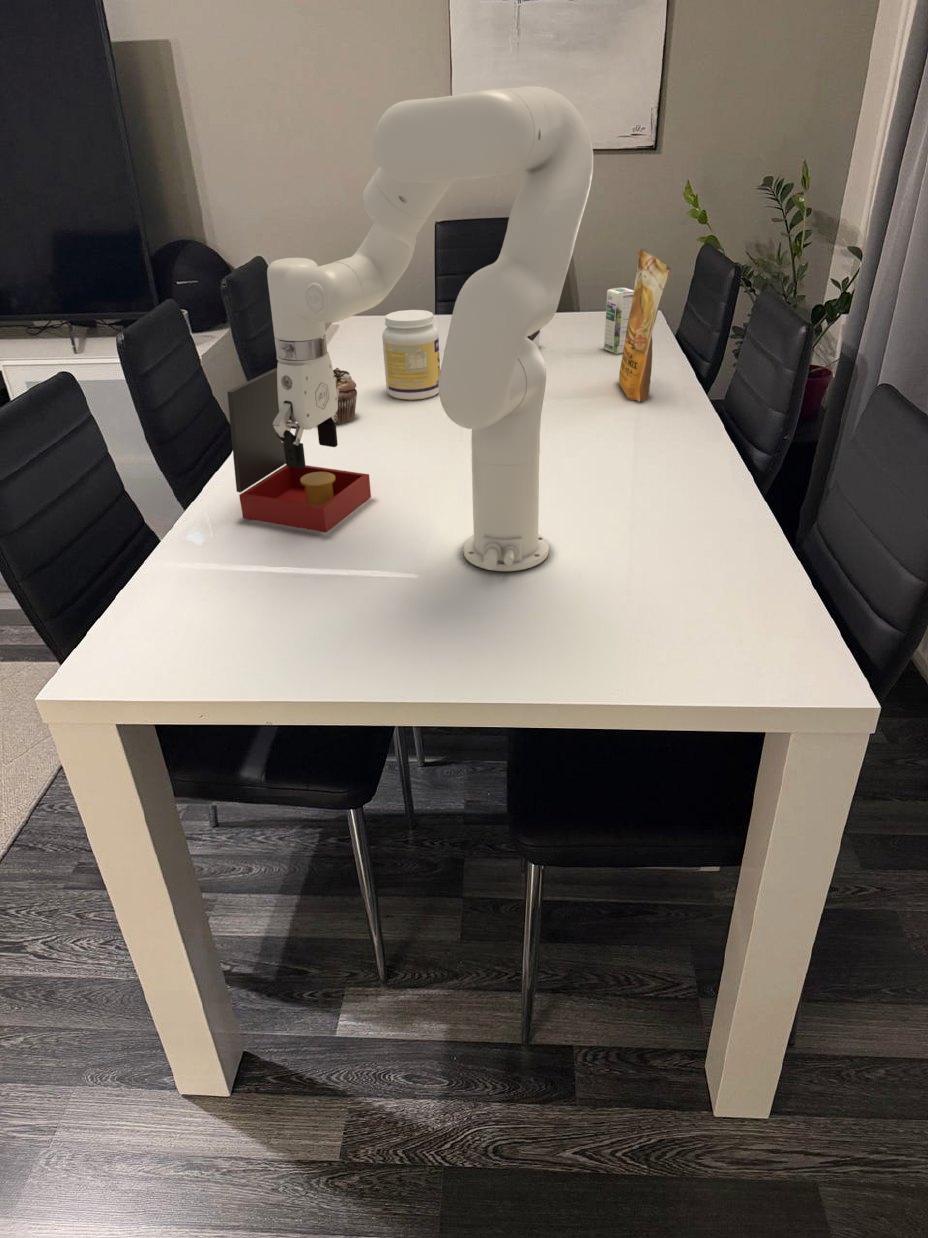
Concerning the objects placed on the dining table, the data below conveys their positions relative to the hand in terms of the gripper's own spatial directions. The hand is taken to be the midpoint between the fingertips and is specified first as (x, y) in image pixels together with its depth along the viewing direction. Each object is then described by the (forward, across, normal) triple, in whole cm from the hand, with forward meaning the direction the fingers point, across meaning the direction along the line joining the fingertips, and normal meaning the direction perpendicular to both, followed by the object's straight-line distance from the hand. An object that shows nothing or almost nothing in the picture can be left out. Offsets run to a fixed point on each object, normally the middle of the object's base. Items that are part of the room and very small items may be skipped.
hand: (312, 456), depth 146 cm
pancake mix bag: (+10, +80, -33) cm, 87 cm away
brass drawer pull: (+9, 0, -1) cm, 9 cm away
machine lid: (-3, 0, +9) cm, 9 cm away
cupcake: (+11, +42, +21) cm, 49 cm away
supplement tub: (+10, +63, +14) cm, 65 cm away
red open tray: (+10, 0, +2) cm, 10 cm away
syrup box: (+10, +110, -20) cm, 113 cm away
